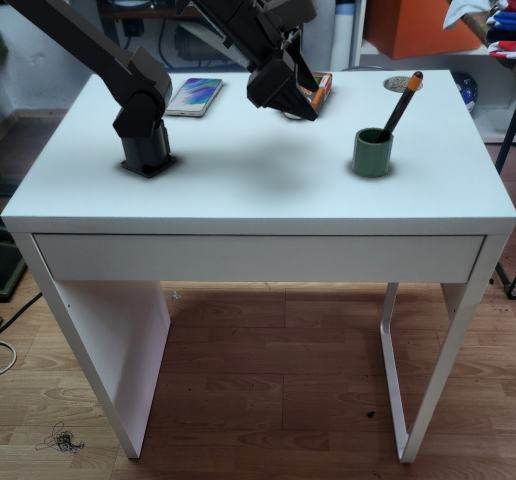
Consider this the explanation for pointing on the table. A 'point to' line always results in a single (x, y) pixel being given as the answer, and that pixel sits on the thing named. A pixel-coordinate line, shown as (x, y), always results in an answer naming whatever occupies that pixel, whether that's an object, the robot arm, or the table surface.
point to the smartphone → (194, 96)
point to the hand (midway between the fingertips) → (316, 104)
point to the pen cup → (371, 153)
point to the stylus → (401, 106)
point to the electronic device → (321, 94)
